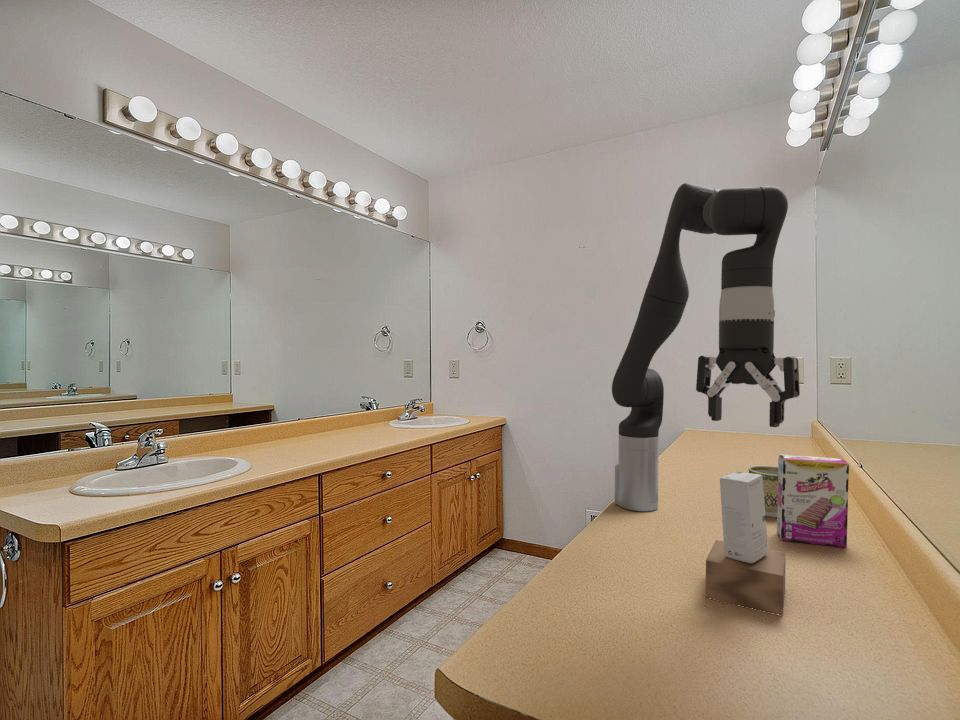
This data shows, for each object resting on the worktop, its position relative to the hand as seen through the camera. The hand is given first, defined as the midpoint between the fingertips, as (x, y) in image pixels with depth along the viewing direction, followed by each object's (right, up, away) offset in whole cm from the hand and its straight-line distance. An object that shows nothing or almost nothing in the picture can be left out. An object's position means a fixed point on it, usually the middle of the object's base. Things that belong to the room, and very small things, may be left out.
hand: (744, 423), depth 79 cm
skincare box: (0, -20, -1) cm, 20 cm away
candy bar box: (+24, -26, +22) cm, 42 cm away
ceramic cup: (+28, -26, +39) cm, 54 cm away
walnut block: (0, -26, -1) cm, 26 cm away
